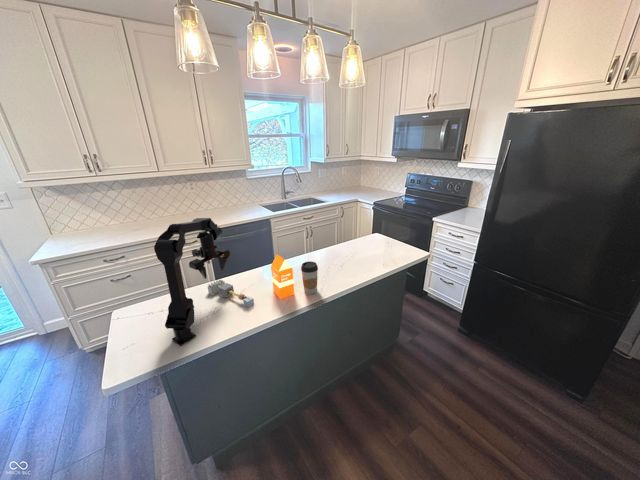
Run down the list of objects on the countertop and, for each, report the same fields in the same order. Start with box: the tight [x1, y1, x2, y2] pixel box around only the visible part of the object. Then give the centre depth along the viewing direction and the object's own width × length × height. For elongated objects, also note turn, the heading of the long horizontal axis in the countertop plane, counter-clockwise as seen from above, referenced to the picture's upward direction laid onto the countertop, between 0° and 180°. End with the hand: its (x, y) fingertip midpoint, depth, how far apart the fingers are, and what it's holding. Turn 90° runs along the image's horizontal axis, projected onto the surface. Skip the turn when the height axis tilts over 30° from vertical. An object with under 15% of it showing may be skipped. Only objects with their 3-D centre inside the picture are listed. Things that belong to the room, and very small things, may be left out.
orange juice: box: [270, 254, 295, 300], centre depth 127 cm, size 8×9×20 cm
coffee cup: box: [300, 261, 319, 295], centre depth 128 cm, size 8×8×15 cm
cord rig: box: [207, 278, 255, 309], centre depth 127 cm, size 28×8×5 cm, turn 56°
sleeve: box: [218, 282, 235, 298], centre depth 129 cm, size 5×5×4 cm
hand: (213, 274), depth 124 cm, fingers open, 9 cm apart
